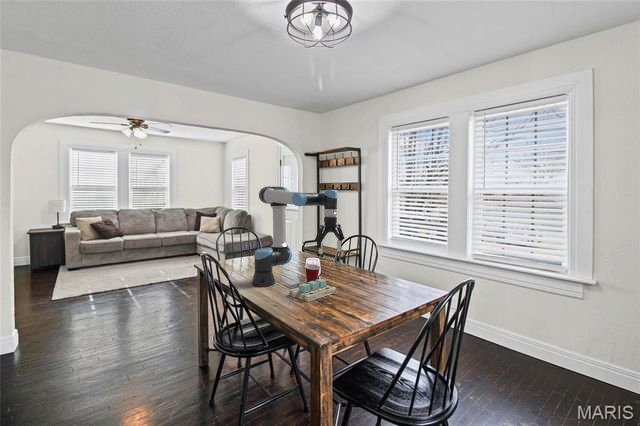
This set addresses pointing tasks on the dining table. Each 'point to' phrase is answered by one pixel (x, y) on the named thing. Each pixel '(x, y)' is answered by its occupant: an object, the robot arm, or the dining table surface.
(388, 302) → the dining table surface
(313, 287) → the button
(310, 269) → the plastic cup
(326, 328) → the dining table surface
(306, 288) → the button
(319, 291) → the board
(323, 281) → the button
